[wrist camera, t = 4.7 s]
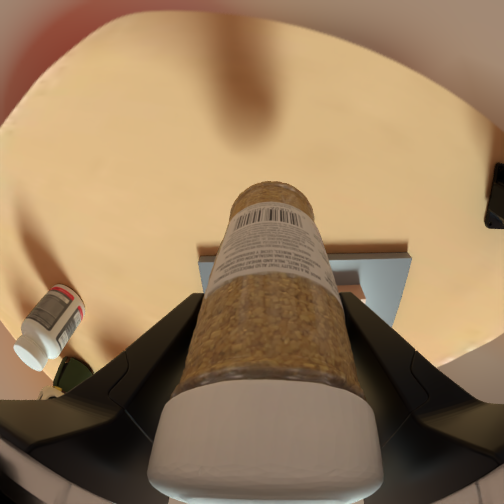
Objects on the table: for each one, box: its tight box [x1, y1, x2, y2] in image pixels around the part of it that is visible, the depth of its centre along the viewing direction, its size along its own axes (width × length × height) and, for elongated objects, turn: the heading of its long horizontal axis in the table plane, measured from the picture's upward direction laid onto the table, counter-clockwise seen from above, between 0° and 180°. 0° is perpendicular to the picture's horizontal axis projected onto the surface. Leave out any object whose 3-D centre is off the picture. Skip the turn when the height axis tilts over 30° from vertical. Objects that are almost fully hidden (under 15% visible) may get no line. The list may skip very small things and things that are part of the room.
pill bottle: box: [14, 284, 85, 371], centre depth 24 cm, size 5×5×10 cm
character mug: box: [37, 357, 92, 400], centre depth 30 cm, size 11×7×13 cm, turn 97°
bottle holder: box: [198, 252, 412, 328], centre depth 25 cm, size 18×14×3 cm
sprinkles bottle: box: [147, 181, 384, 504], centre depth 9 cm, size 5×5×13 cm
